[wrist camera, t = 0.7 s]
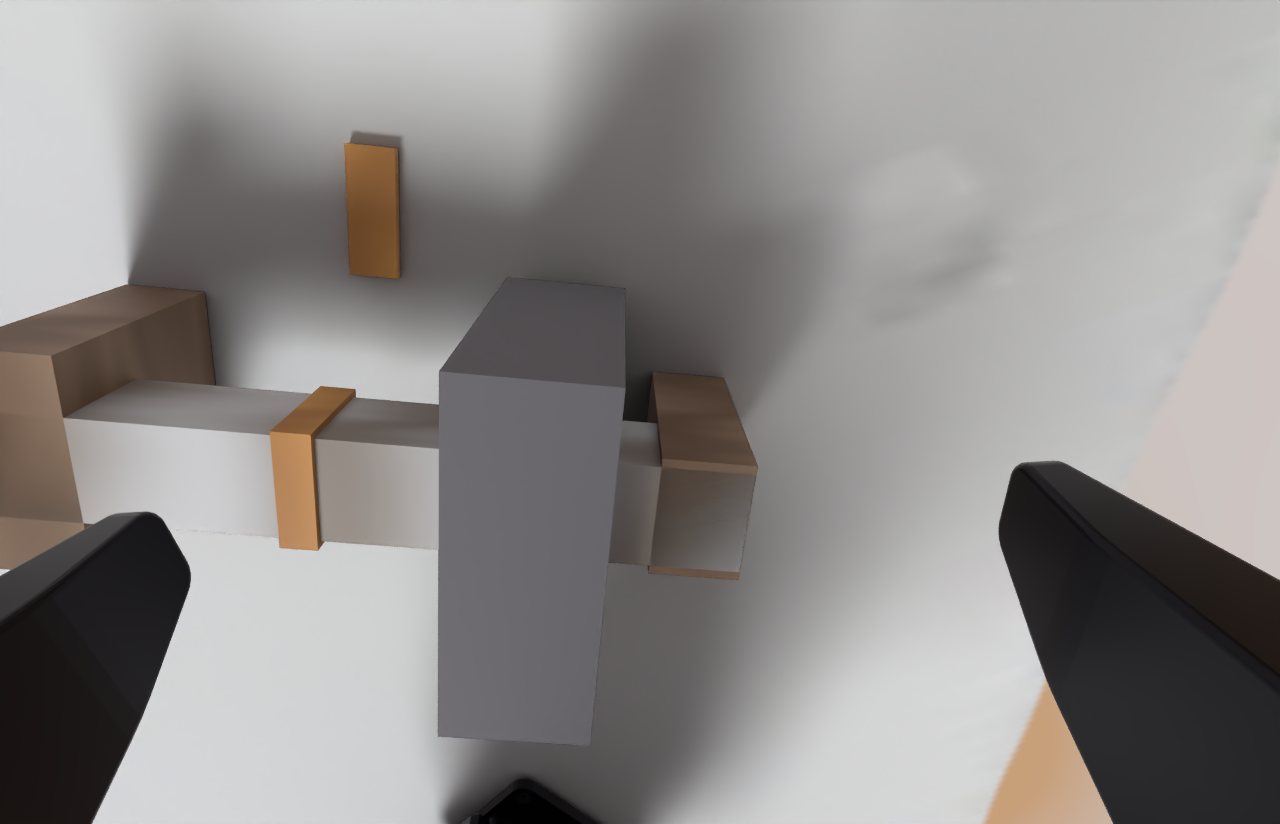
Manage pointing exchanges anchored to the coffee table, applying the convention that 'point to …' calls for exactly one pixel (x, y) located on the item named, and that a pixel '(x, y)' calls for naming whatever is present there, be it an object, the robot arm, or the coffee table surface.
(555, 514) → the collar
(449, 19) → the coffee table surface
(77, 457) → the pipe stand
